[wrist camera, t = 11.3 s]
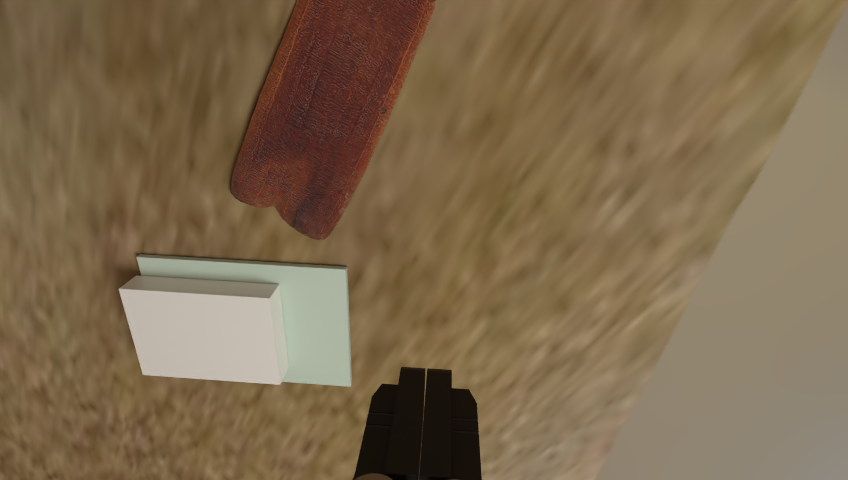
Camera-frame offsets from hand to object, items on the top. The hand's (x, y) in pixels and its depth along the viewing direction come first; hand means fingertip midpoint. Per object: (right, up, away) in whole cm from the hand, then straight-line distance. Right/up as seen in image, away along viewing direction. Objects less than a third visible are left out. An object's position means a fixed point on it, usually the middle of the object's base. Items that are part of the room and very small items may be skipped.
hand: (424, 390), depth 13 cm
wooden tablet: (-7, +17, +23) cm, 30 cm away
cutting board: (-17, -4, +32) cm, 37 cm away
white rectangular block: (-14, -5, +30) cm, 34 cm away
